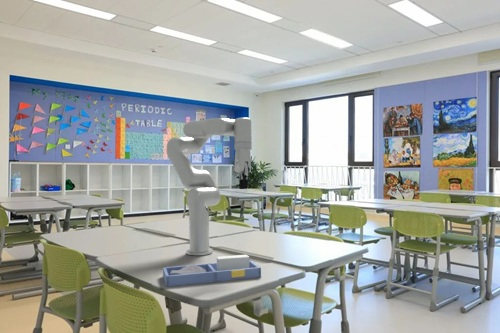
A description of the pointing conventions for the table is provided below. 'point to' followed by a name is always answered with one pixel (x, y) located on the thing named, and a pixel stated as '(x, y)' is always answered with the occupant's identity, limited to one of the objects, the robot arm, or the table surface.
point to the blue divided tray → (209, 274)
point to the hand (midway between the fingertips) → (243, 188)
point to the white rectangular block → (232, 262)
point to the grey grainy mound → (188, 270)
